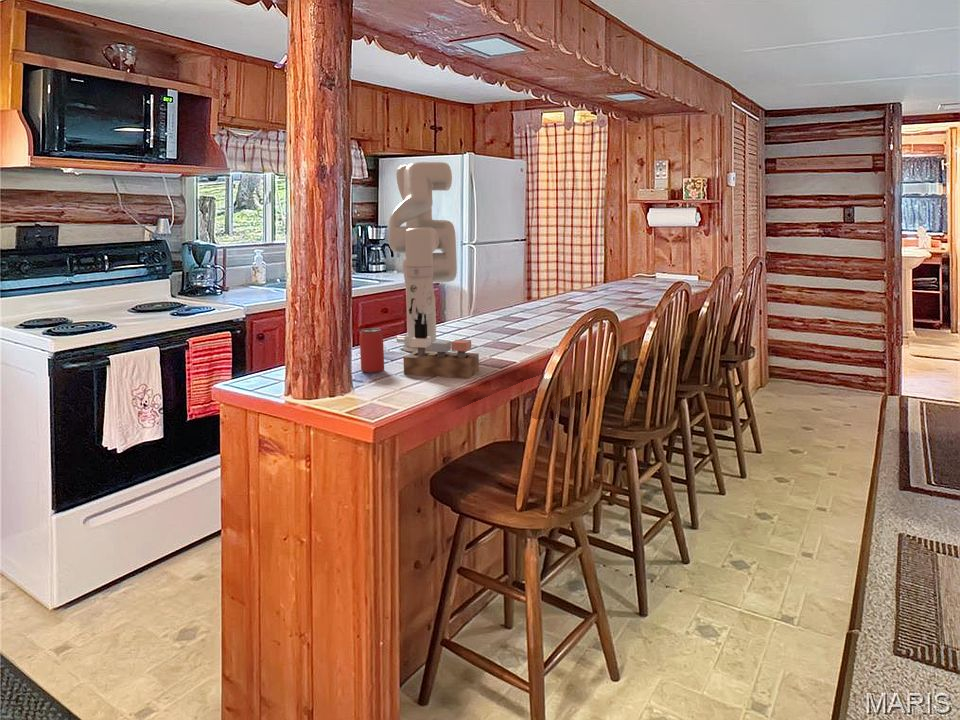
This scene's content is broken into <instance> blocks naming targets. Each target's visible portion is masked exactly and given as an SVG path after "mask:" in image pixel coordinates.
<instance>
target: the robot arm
mask: <svg viewBox="0 0 960 720" xmlns="http://www.w3.org/2000/svg"><path fill="white" fill-rule="evenodd" d="M395 176H396V177H395V178H396V183H397V187H398V191H399V193H400V197H401V199H402V202H400V203H399V204H397V206H396V207H395V208H394V209H393V211H392V213H391V214H390V216H389V220H388V244H389V245H388V246H389V247H390V250H391V251H392V252H394V253H396V254H405V257H404V258H403V260H402V273H403V278H404V286H405V300H406V301H405V302H406V303H405V304H406V329H407V330H406V335H404V336H403V335H402V336H401V335H397V336H396V339H395V340H396V342H397V343H404V344H403V345H402V350H404V351H405V352H410V353H413V352H415V351H417V350H418V347H411V338H413V337H415V338H427V336H429V337H431V343H432V342H434V341H436V340H437V317H436V316H437V315H436V311H437V310H436V296H435V289H434V283H450V282H453V281H454V280H456V277H457V273H458V272H457V271H458V270H457V268H458V267H457V266H458V264H457V262H458V261H457V240H456V237H457V236H456V230H455V226H454V224H453V222H451V221H450V220H447V219H433V213H432V210H433V204H434V203H433V191H446V192H447V191H449V190H450V189H451V187H452V184H453V174H452V169H451V166H450V165H449V163H447V162H440V161H435V162H433V161H432V162H429V161H427V162H426V161H422V162H421V161H420V162H418V161H417V162H411V163H405V164H402V165H400V166H399V167H397V169H396V175H395ZM403 224H405V226H404V225H403ZM402 225H403V226H402ZM437 250H438V251H441V252H435V251H437ZM425 351H431V345H430V346H428V347H426V348H425Z"/></svg>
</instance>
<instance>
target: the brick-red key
mask: <svg viewBox="0 0 960 720" xmlns="http://www.w3.org/2000/svg"><path fill="white" fill-rule="evenodd" d="M471 349H472V340H471V339H455V340H453V341H451V350H450V351H451V352H457V353H458V358H466V356H465V353H468V351H470V350H471Z"/></svg>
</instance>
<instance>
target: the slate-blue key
mask: <svg viewBox="0 0 960 720" xmlns="http://www.w3.org/2000/svg"><path fill="white" fill-rule="evenodd" d="M451 342H452V341H451V340H438V339H436V341H434V342H432V343H431V352H437V354H438V357H445V352H450V351H452V350H451Z"/></svg>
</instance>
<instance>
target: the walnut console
mask: <svg viewBox="0 0 960 720" xmlns="http://www.w3.org/2000/svg"><path fill="white" fill-rule="evenodd" d="M465 356H466V358H458V352H457V351H447V352H445V357H438V354H437V352H431V351H425V356H418V350H417V351H415V352H410V353H409V354H407V355H405V356H403V375H405V376H407V375H408V376H419V375H422V376H423V377H435V376H439V377H438V378H453V379H454V378H455V379H470V378H471V377H473V376H475V374H476V373H477V372H479V370H480V369H479V368H480V366H479V365H480V360H479V359H480V358H479V356H480V354H479V353H475V352H465Z"/></svg>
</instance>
